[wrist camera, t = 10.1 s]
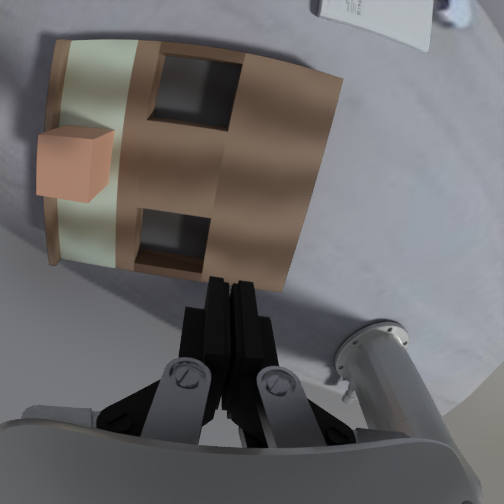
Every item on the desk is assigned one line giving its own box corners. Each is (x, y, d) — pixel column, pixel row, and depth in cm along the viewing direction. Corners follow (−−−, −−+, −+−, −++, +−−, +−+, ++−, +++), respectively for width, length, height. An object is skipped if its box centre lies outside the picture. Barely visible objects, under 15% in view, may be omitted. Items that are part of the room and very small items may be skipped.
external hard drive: (420, 53, 26) (315, 18, 24) (425, -6, 22) (324, -45, 20) (428, 52, 24) (320, 14, 22) (433, -8, 20) (328, -50, 19)
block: (108, 183, 26) (88, 203, 22) (62, 177, 25) (36, 194, 21) (115, 130, 24) (93, 139, 19) (66, 125, 23) (38, 134, 19)
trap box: (276, 271, 37) (283, 300, 32) (69, 240, 33) (49, 264, 28) (328, 79, 27) (349, 78, 22) (81, 45, 22) (56, 39, 18)
